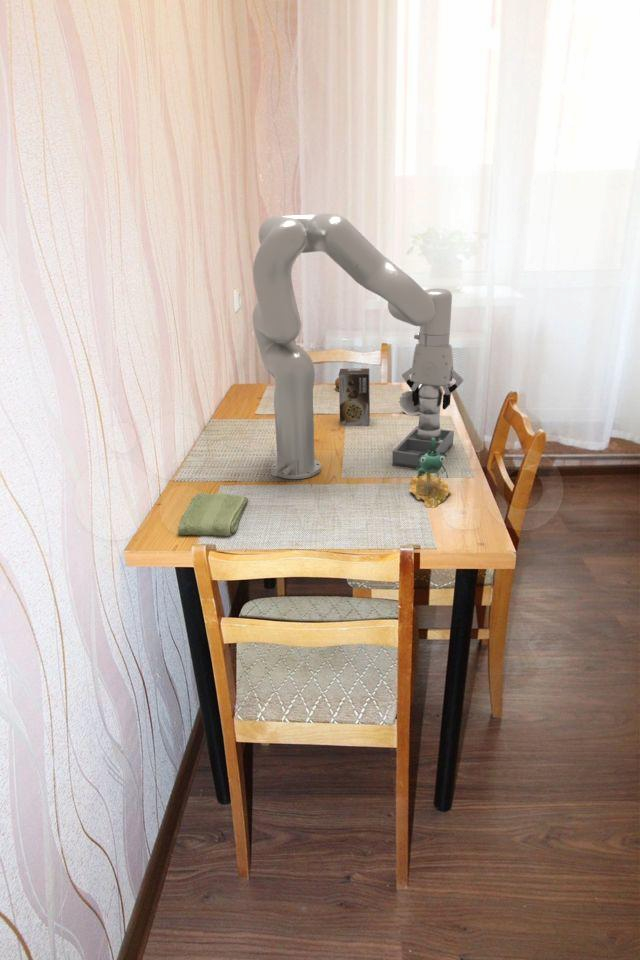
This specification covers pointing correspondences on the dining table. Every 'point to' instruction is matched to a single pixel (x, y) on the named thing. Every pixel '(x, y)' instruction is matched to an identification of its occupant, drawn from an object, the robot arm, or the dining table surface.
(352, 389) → the coffee box
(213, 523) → the washcloth
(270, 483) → the dining table surface
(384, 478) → the dining table surface
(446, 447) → the grey compartment tray
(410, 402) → the white hollow cylinder
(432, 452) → the frog figurine
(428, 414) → the plastic bottle
